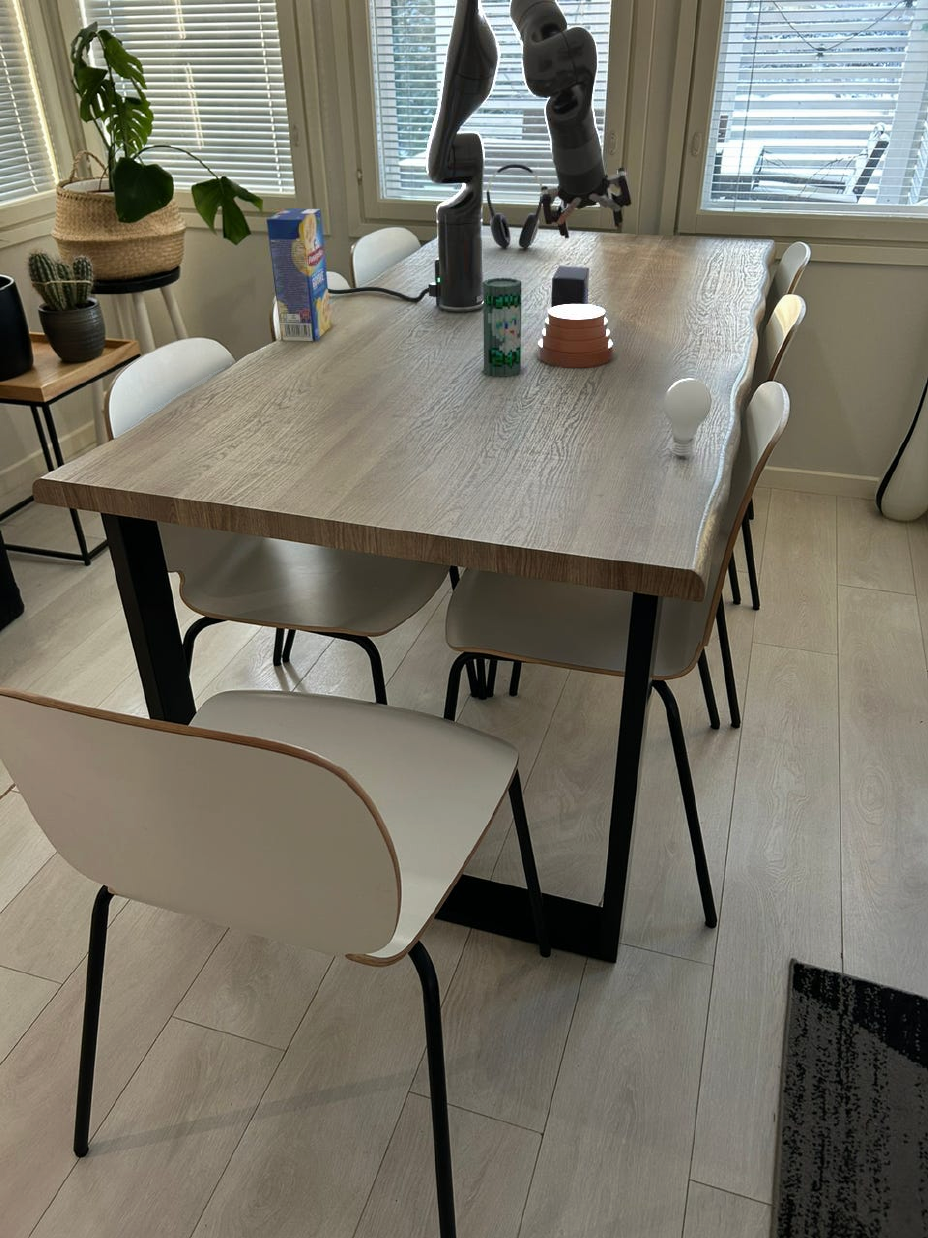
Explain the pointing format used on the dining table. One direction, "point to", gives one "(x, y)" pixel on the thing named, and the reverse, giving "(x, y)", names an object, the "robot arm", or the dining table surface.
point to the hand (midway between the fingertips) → (591, 228)
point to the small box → (570, 286)
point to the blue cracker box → (299, 273)
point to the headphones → (500, 224)
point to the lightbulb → (686, 412)
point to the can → (502, 326)
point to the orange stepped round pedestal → (575, 337)
